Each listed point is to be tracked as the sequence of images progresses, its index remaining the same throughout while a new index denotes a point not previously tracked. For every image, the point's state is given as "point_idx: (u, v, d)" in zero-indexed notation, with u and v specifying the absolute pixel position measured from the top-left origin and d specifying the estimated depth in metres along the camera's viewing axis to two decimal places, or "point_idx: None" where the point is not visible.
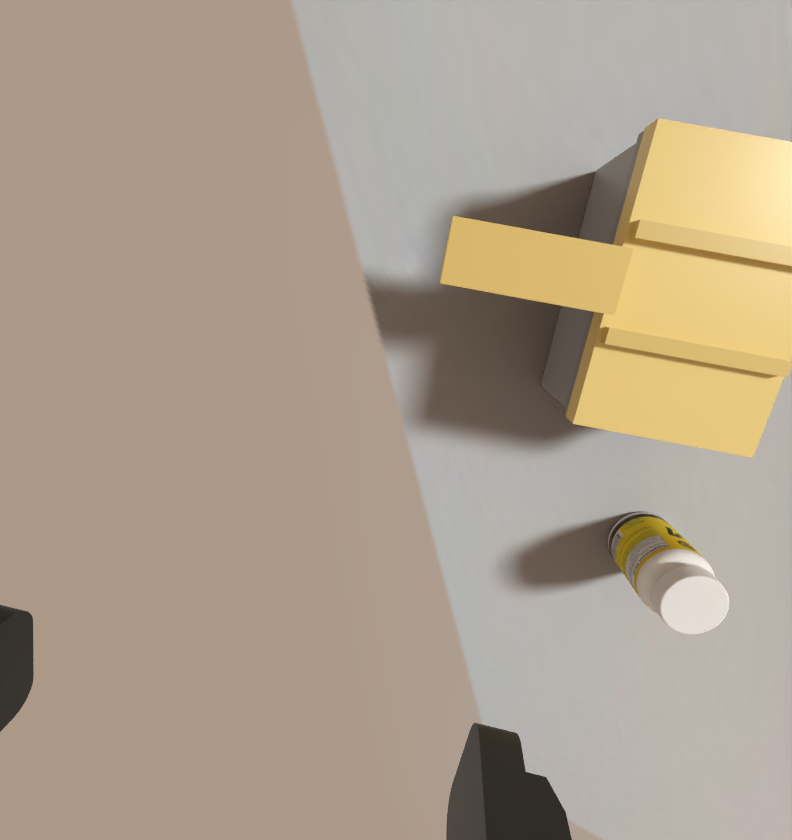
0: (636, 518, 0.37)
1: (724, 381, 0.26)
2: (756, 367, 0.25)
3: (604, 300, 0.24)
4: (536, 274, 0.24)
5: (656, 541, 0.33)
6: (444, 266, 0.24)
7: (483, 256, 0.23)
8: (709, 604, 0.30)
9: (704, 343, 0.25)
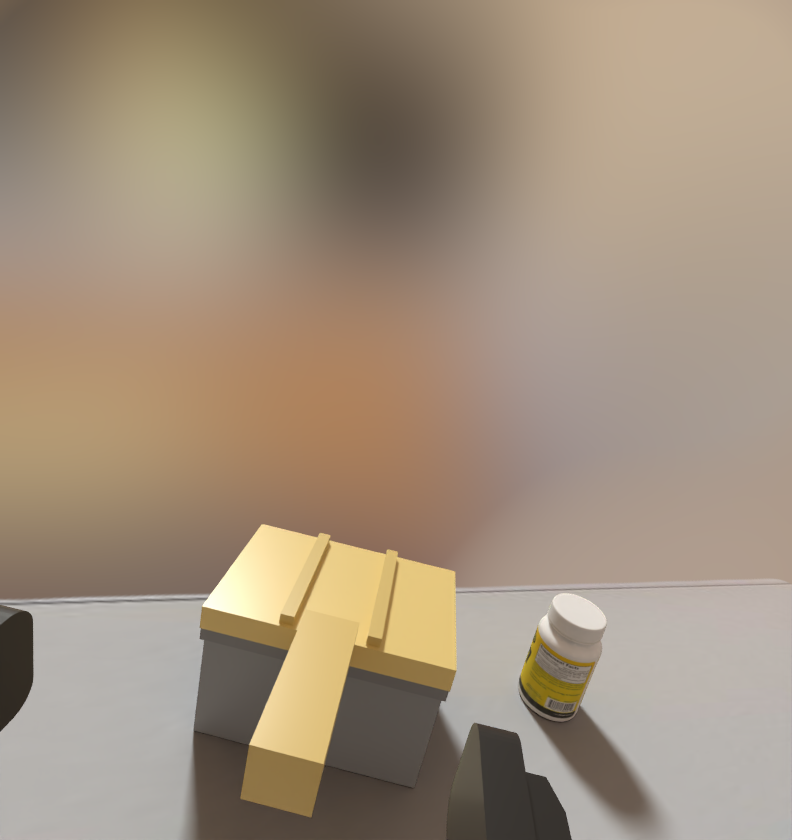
0: (527, 691, 0.39)
1: (403, 581, 0.35)
2: (392, 563, 0.35)
3: (347, 628, 0.27)
4: (321, 672, 0.24)
5: (540, 656, 0.38)
6: (304, 758, 0.20)
7: (298, 716, 0.22)
8: (573, 603, 0.38)
9: (376, 589, 0.33)
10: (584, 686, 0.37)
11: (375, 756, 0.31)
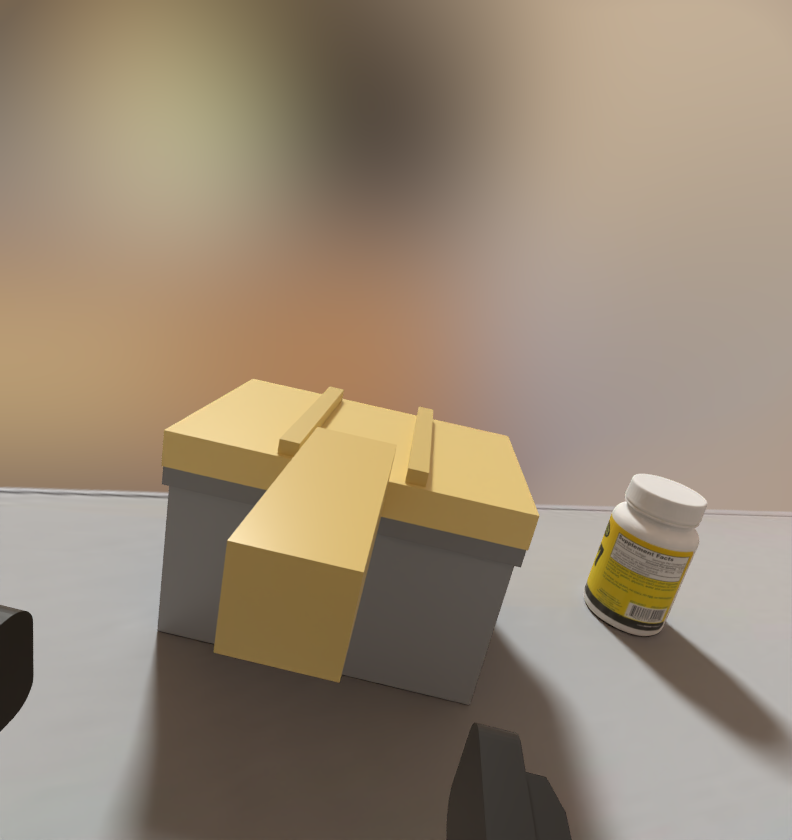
0: (600, 600, 0.30)
1: (444, 437, 0.26)
2: (428, 417, 0.26)
3: (379, 447, 0.18)
4: (347, 480, 0.15)
5: (619, 549, 0.29)
6: (328, 563, 0.11)
7: (314, 518, 0.13)
8: (659, 482, 0.30)
9: (410, 440, 0.24)
10: (677, 587, 0.29)
11: (415, 659, 0.22)
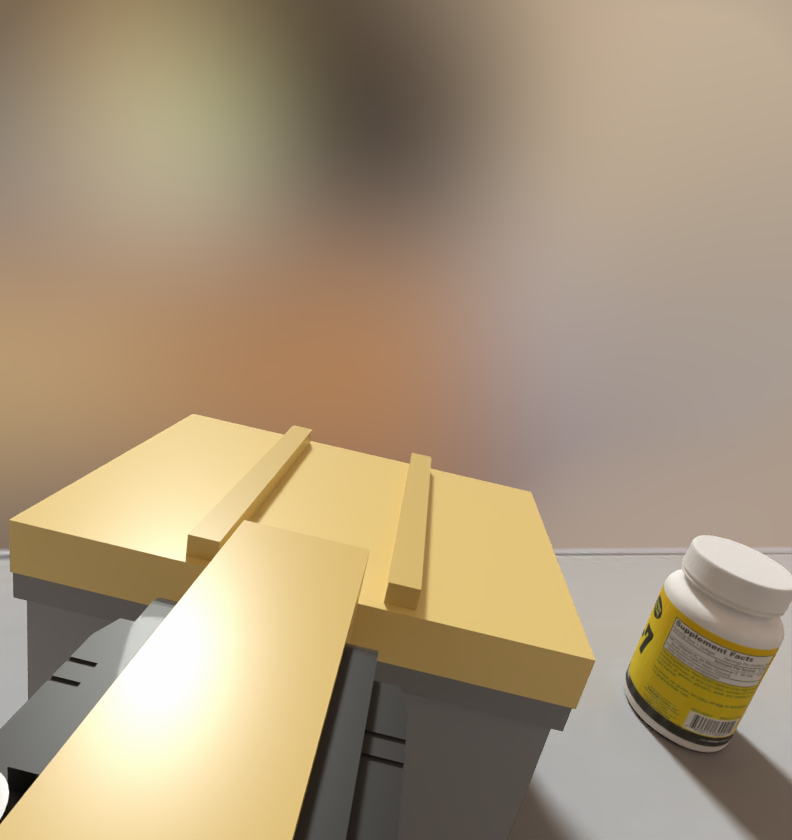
0: (649, 701, 0.23)
1: (446, 501, 0.19)
2: (424, 471, 0.19)
3: (340, 558, 0.11)
4: (262, 665, 0.08)
5: (677, 640, 0.22)
6: None
7: (152, 832, 0.06)
8: (728, 549, 0.23)
9: (398, 510, 0.17)
10: (754, 691, 0.22)
11: None
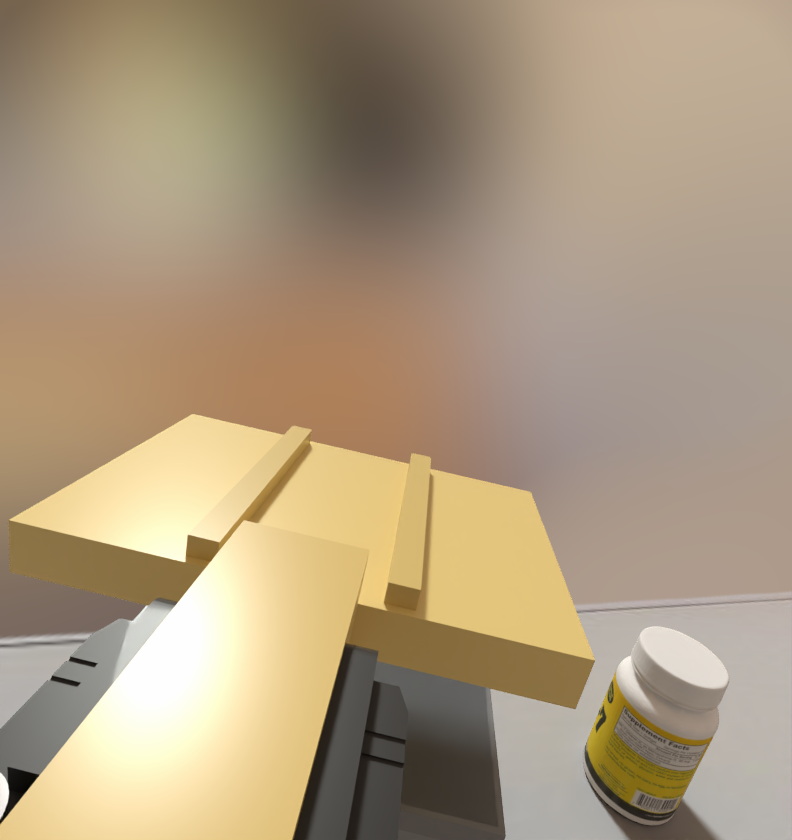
0: (602, 778, 0.26)
1: (446, 501, 0.19)
2: (424, 471, 0.19)
3: (340, 559, 0.11)
4: (262, 665, 0.08)
5: (625, 726, 0.25)
6: None
7: (152, 833, 0.06)
8: (671, 642, 0.25)
9: (398, 510, 0.17)
10: (693, 772, 0.24)
11: None
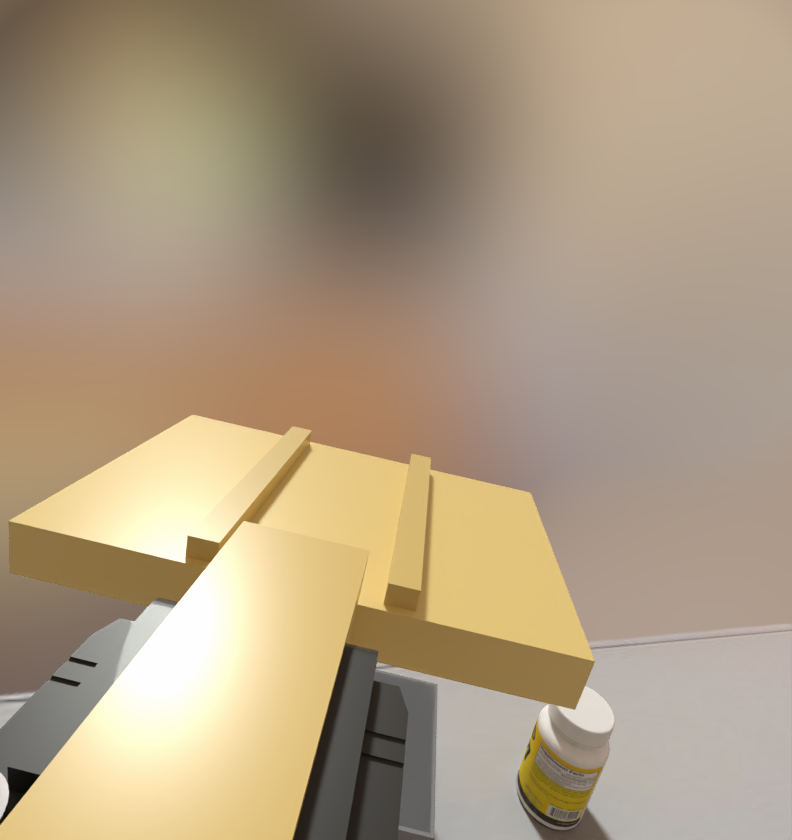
0: (527, 795, 0.35)
1: (446, 501, 0.19)
2: (424, 472, 0.19)
3: (340, 559, 0.11)
4: (262, 665, 0.08)
5: (541, 758, 0.34)
6: None
7: (152, 832, 0.06)
8: None
9: (398, 510, 0.17)
10: (590, 792, 0.33)
11: None
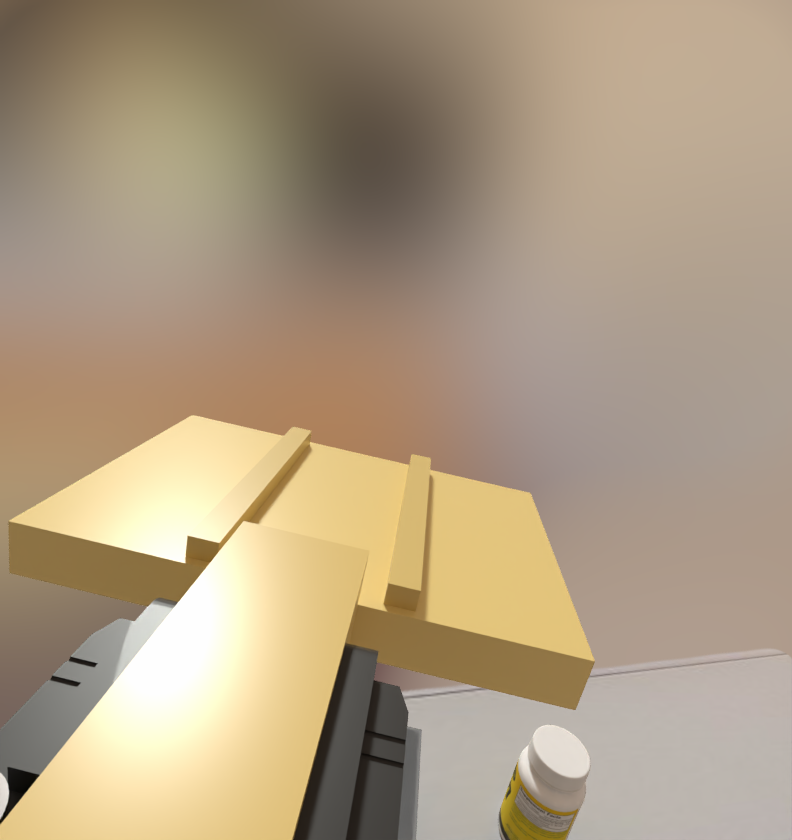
0: (507, 833, 0.36)
1: (446, 502, 0.19)
2: (424, 472, 0.19)
3: (340, 559, 0.11)
4: (262, 665, 0.08)
5: (520, 799, 0.35)
6: None
7: (152, 833, 0.06)
8: (555, 739, 0.36)
9: (398, 511, 0.17)
10: (567, 832, 0.35)
11: None
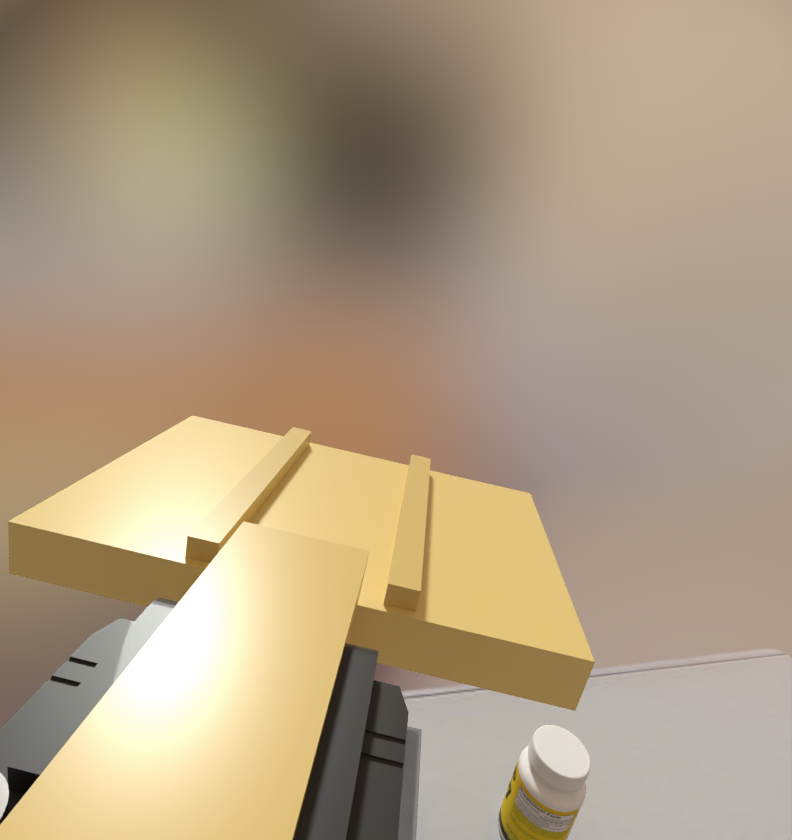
0: (507, 833, 0.36)
1: (446, 502, 0.19)
2: (424, 472, 0.19)
3: (340, 560, 0.11)
4: (262, 665, 0.08)
5: (520, 799, 0.35)
6: None
7: (152, 833, 0.06)
8: (555, 739, 0.36)
9: (398, 511, 0.17)
10: (567, 832, 0.35)
11: None
